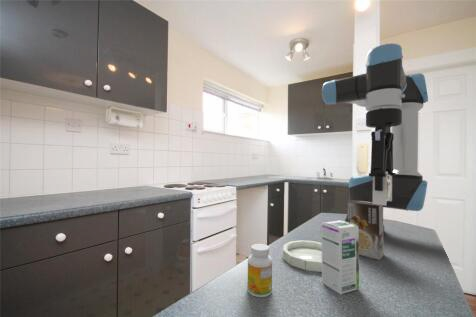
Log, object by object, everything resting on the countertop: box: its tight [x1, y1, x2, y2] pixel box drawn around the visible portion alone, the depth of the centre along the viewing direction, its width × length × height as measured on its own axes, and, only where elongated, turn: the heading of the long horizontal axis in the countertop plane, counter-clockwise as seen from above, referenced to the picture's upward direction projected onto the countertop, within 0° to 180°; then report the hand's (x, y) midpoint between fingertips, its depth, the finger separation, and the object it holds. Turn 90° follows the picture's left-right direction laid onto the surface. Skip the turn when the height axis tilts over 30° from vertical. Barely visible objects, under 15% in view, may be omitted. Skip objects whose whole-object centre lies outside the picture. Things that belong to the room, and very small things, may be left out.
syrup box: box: [321, 219, 360, 296], centre depth 53 cm, size 6×6×14 cm
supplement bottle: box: [247, 243, 273, 298], centre depth 50 cm, size 5×5×10 cm
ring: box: [385, 171, 392, 201], centre depth 56 cm, size 7×3×8 cm, turn 118°
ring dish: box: [282, 239, 322, 273], centre depth 67 cm, size 16×16×2 cm
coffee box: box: [347, 200, 385, 261], centre depth 72 cm, size 9×6×16 cm
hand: (382, 202), depth 56 cm, fingers closed on ring, 7 cm apart
